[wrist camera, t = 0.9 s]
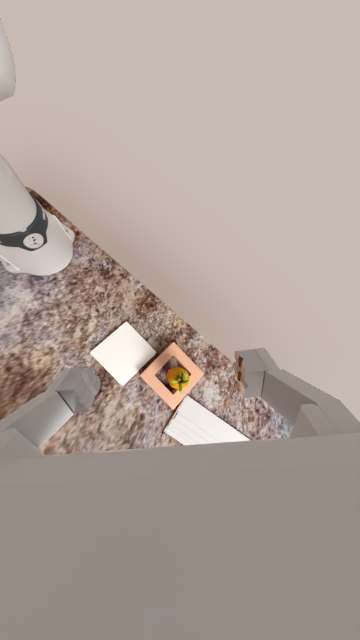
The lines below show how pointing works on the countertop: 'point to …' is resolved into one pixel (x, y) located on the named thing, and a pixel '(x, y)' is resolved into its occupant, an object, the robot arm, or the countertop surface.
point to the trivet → (123, 353)
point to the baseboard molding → (199, 425)
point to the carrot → (178, 378)
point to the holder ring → (168, 396)
